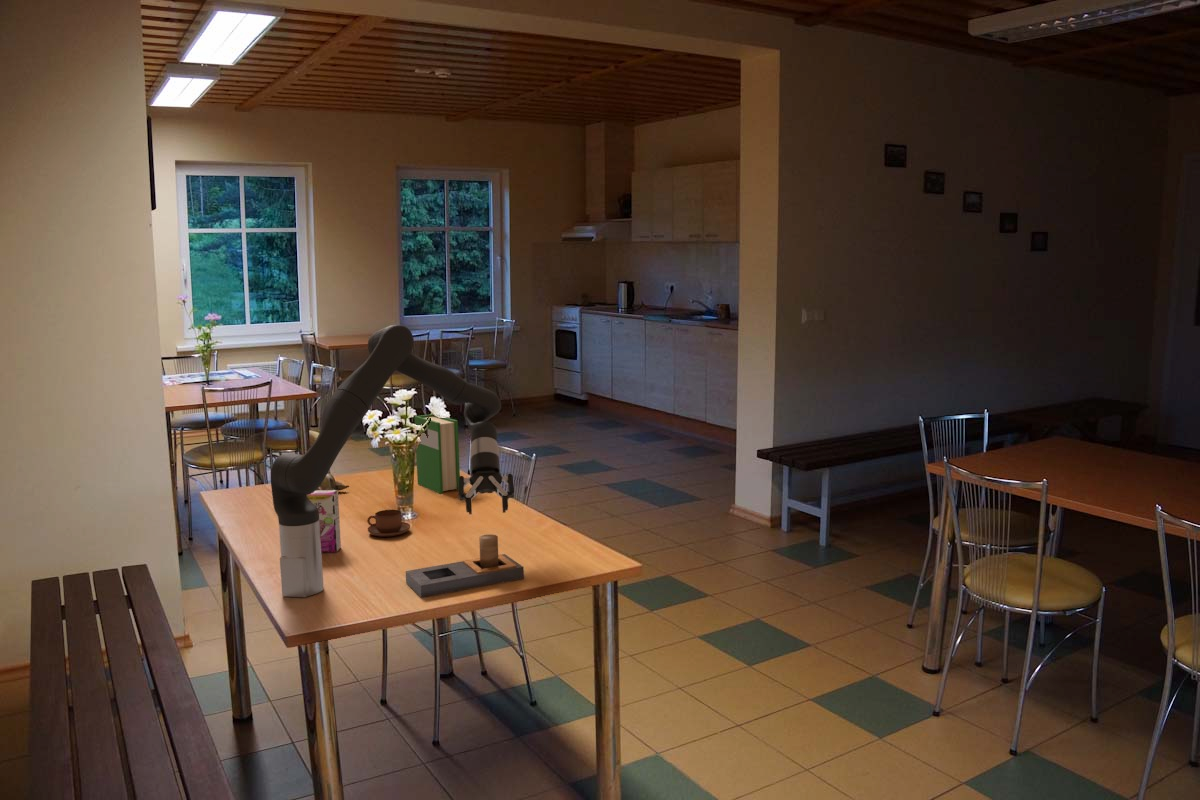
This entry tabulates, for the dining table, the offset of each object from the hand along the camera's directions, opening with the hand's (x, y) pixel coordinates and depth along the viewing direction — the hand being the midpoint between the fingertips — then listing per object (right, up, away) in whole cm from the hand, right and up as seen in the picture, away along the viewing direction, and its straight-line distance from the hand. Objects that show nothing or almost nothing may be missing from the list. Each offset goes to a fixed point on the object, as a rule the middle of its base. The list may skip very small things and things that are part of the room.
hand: (487, 512), depth 246 cm
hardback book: (-27, -2, +87) cm, 91 cm away
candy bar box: (-48, -13, +17) cm, 52 cm away
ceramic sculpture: (-65, -3, +81) cm, 104 cm away
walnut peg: (+1, -15, -6) cm, 16 cm away
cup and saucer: (-32, -10, +33) cm, 47 cm away
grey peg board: (-4, -16, -9) cm, 19 cm away
